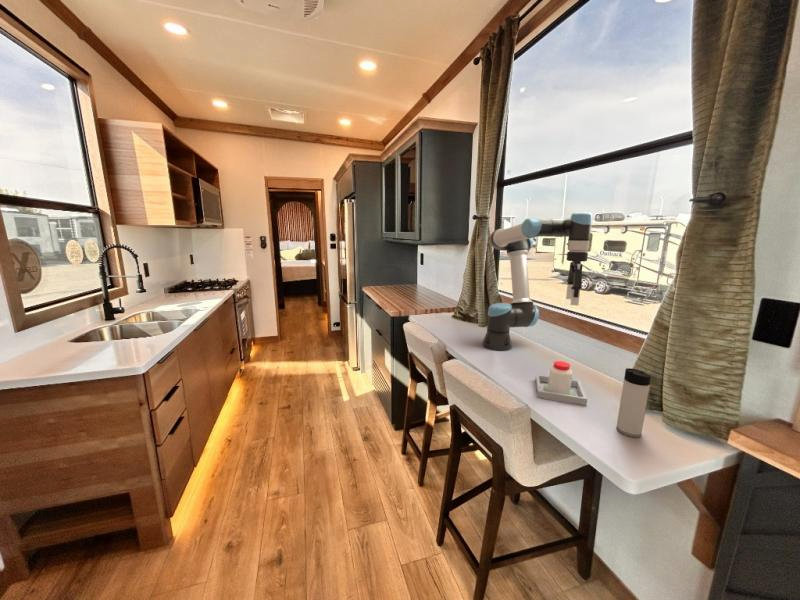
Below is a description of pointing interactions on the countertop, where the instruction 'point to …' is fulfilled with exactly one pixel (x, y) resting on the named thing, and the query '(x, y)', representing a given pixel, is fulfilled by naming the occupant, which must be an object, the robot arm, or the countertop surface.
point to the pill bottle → (560, 378)
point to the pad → (549, 391)
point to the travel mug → (633, 402)
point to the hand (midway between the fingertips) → (571, 302)
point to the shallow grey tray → (561, 397)
